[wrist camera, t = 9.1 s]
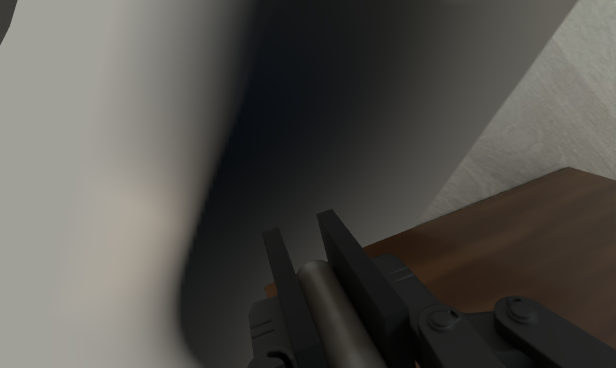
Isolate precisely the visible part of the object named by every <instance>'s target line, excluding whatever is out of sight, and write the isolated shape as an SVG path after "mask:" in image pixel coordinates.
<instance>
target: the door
mask: <svg viewBox="0 0 616 368" xmlns="http://www.w3.org/2000/svg"><path fill="white" fill-rule="evenodd" d="M363 250H364V251H365V252H366V253H367V255H368V256H369V257H370V259H372V258H374V257H377V256H380V255H382V254H385V253H390V254H392V255H394V256H396V257H398V258H400V259H401V260H402V261H403V262H404V264H405V265H406V266H407V267H408V268H409V269H410V270H411V271H412V272H413V273H414V275H416V276H417V278H418V279H419V280H420V281H421V282H422V283H423V284H424V285H425V286H426V287H427V288H428V289H429V290H430V292H431V293H432V294H433V295H434V296H435V297H436V298H437V299H438V300H439V301H440V302H441V303H442V304H445V305H449V306H451V307H454V308H456V309H457V310H458V311H460V312H463V313H477V312H488V311H494V306H495V303H496V302H497V301H498V300H499V299H501V298H503V297H506V296H521V297H526V298H529V299H531V300H534V301H536V302H538V303H540V304H541V305H543V306H545V307H546V308H548V309H550V310H551V311H553V312H554V313H556V314H558V315H559V316H561V317H563V318H564V319H566V320H568V321H569V322H571V323H573V324H574V325H576V326H577V327H579V328H581V329H582V330H584V331H586V332H587V333H589V334H591V335H592V336H594V337H596V338H597V339H599V340H600V341H602V342H604V343H605V344H607V345H609V346H610V347H612V348H614V349H615V350H616V181H615V180H612V179H608V178H605V177H602V176H598V175H595V174H591V173H588V172H585V171H581V170H578V169H574V168H571V167H566V168H564V169H561V170H559V171H556V172H554V173H551V174H549V175H546V176H544V177H541V178H538V179H536V180H533V181H531V182H528V183H526V184H523V185H521V186H518V187H516V188H513V189H511V190H508V191H505V192H503V193H500V194H498V195H495V196H493V197H490V198H488V199H485V200H483V201H480V202H478V203H475V204H472V205H470V206H467V207H465V208H462V209H460V210H457V211H455V212H452V213H450V214H447V215H445V216H442V217H440V218H437V219H434V220H432V221H429V222H427V223H424V224H422V225H419V226H417V227H414V228H412V229H409V230H407V231H404V232H401V233H399V234H396V235H394V236H392V237H389V238H386V239H384V240H381V241H379V242H376V243H374V244H371V245H368V246H366V247H364V248H363ZM296 277H297V280H298V282H299V285H300V288H301V290H302V293H303V296H304V299H305V301H306V304H307V307H308V309H309V312H310V315H311V318H312V320H313V323H314V326H315V328H316V331H317V334H318V336H319V339H320V342H321V345H322V348H323V352H324V355H325V358H326V362H327V365H328V368H389V366H388V364H387V363H386V361H385V359H384V357H383V356H382V354H381V352H380V350H379V349H378V347H377V345H376V343H375V342H374V340H373V338H372V336H371V335H370V333H369V331H368V329H367V328H366V326H365V324H364V322H363V321H362V319H361V317H360V315H359V314H358V312H357V310H356V308H355V307H354V305H353V303H352V301H351V300H350V298H349V296H348V294H347V293H346V291H345V289H344V287H343V286H342V284H341V282H340V280H339V279H338V277H337V275H336V273H335V272H334V270H333V268H332V266H331V265H330V264H329V262H325V261H323V260H313V261H310V262H308V263H306V264H304V265H303V266H302V267H301V268H300V269H299V271H298V273H297V274H296ZM265 292H266V296H267V298H269V297H272V296H275V295H278V292H277V288H276V285H275V283H272V284H270V285H267V286H265ZM415 362H416V360H415ZM416 368H420V366H419V365H418V363H417V362H416Z"/></svg>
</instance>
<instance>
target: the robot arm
mask: <svg viewBox="0 0 616 368" xmlns="http://www.w3.org/2000/svg"><path fill="white" fill-rule="evenodd" d="M317 218H318V222H319V226H320V230H321V234H322V239H323V243H324V246H325V250H326V254H327V259H328V262H329V264H330V265H331V266H332V268H333V270H334V272H335V273H336V275H337V277H338V279H339V280H340V282H341V284H342V286H343V287H344V289H345V291H346V293H347V294H348V296H349V298H350V300H351V301H352V303H353V305H354V307H355V308H356V310H357V312H358V314H359V315H360V317H361V319H362V321H363V322H364V324H365V326H366V328H367V329H368V331H369V333H370V335H371V336H372V338H373V340H374V342H375V343H376V345H377V347H378V349H379V350H380V352H381V354H382V356H383V357H384V359H385V361H386V363H387V364H388V366H389V368H416V362H417V363H418V365H419V366H420V368H616V350H615V349H614V348H612V347H610V346H609V345H607V344H605V343H604V342H602V341H600V340H599V339H597V338H596V337H594V336H592V335H591V334H589V333H587V332H586V331H584V330H582V329H581V328H579V327H577V326H576V325H574V324H573V323H571V322H569V321H568V320H566V319H564V318H563V317H561V316H559V315H558V314H556V313H554V312H553V311H551V310H550V309H548V308H546V307H545V306H543V305H541V304H540V303H538V302H536V301H534V300H531V299H529V298H526V297H521V296H506V297H503V298H501V299H499V300H498V301H497V302H496V303H495V306H494V311H488V312H477V313H463V312H460V311H458V310H457V309H456V308H454V307H451V306H449V305H445V304H442V303H441V302H440V301H439V300H438V299H437V298H436V297H435V296H434V295H433V294H432V293H431V292H430V290H429V289H428V288H427V287H426V286H425V285H424V284H423V283H422V282H421V281H420V280H419V279H418V278H417V276H416V275H414V273H413V272H412V271H411V270H410V269H409V268H408V267H407V266H406V265H405V264H404V262H403V261H402V260H401V259H400V258H398V257H396V256H394V255H392V254H390V253H385V254H382V255H380V256H377V257H374V258H372V259H370V257H369V256H368V255H367V253H366V252H365V251H364V250H363V248H362V247H361V246H360V245H359V243H358V242H357V241H356V239H355V238H354V237H353V236H352V234H351V233H350V232H349V230H348V229H347V228H346V227H345V226H344V224H343V223H342V221H341V220H340V219H339V218H338V216H337V215H336V214H335V212H334V211H333V210H332V209H330V210H327V211H324V212H321V213H318V214H317ZM262 235H263V239H264V243H265V246H266V250H267V254H268V258H269V261H270V265H271V269H272V273H273V277H274V280H275V285H276V288H277V292H278V295H275V296H272V297H269V298H267V299H265V300H261V301H259V302H256V303H254V304H253V305H252V308H251V311H250V314H249V321H250V328H251V337H252V346H253V354H254V358H253V360H252V361H251V362H250V363H249V365H248V368H328V365H327V362H326V358H325V355H324V352H323V348H322V345H321V342H320V339H319V336H318V334H317V331H316V328H315V326H314V323H313V320H312V318H311V315H310V312H309V309H308V307H307V304H306V301H305V299H304V296H303V293H302V290H301V288H300V285H299V282H298V280H297V277H296V274H295V272H294V269H293V266H292V263H291V261H290V258H289V255H288V253H287V250H286V247H285V244H284V242H283V239H282V236H281V234H280V231H279V228H278V227H277V228H274V229H271V230H268V231H265V232H263V233H262ZM415 360H416V362H415Z"/></svg>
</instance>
